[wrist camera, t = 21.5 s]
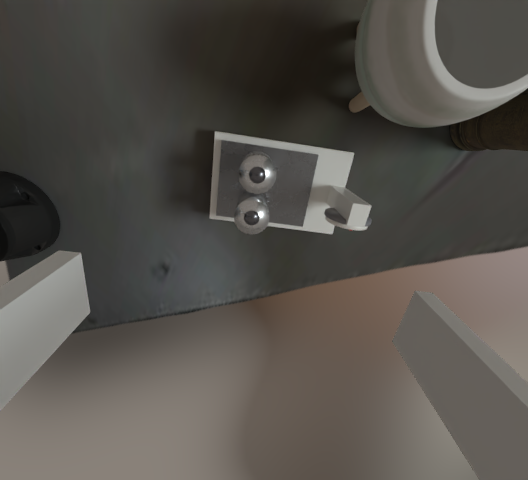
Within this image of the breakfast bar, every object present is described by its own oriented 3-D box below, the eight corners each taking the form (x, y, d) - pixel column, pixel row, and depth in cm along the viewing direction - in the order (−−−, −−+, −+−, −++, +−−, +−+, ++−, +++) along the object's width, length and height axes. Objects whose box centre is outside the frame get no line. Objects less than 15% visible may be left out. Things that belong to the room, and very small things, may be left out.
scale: (212, 213, 47) (195, 244, 34) (217, 131, 41) (199, 132, 29) (338, 229, 49) (367, 265, 36) (359, 153, 43) (402, 163, 30)
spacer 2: (239, 187, 41) (235, 198, 35) (269, 191, 42) (271, 203, 35) (236, 216, 43) (232, 232, 37) (265, 220, 44) (266, 236, 37)
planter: (334, 141, 42) (406, 154, 22) (311, 26, 36) (382, -107, 16) (433, 107, 41) (611, 87, 20) (427, -20, 35) (674, -235, 14)
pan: (216, 214, 44) (215, 215, 43) (222, 139, 39) (221, 139, 38) (302, 225, 45) (302, 226, 44) (317, 154, 40) (318, 154, 39)
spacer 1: (243, 148, 39) (240, 152, 32) (275, 153, 39) (279, 158, 33) (239, 181, 41) (236, 191, 34) (270, 185, 41) (273, 196, 35)
